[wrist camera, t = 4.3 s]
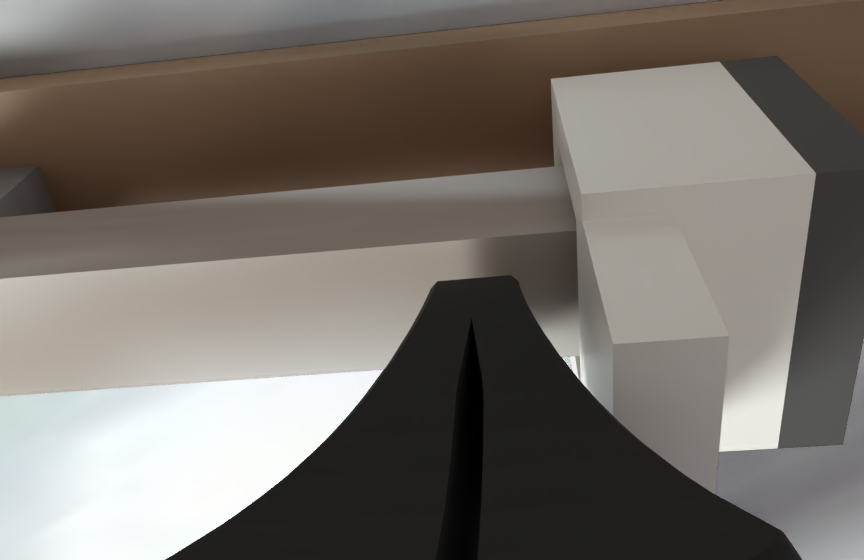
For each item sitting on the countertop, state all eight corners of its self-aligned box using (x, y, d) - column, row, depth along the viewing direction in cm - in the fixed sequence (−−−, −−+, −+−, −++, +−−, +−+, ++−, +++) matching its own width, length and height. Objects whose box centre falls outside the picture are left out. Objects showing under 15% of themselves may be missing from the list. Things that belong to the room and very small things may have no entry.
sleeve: (704, 287, 17) (846, 598, 11) (559, 298, 17) (613, 608, 11) (719, 61, 15) (916, 290, 8) (550, 78, 15) (613, 312, 8)
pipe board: (1116, 233, 18) (1336, 390, 13) (45, 318, 20) (-78, 476, 16) (1221, -54, 15) (1554, 23, 10) (-58, 84, 17) (-248, 197, 13)
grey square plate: (753, 283, 17) (842, 444, 13) (704, 287, 17) (778, 448, 13) (776, 56, 15) (896, 166, 10) (719, 61, 15) (815, 173, 11)
